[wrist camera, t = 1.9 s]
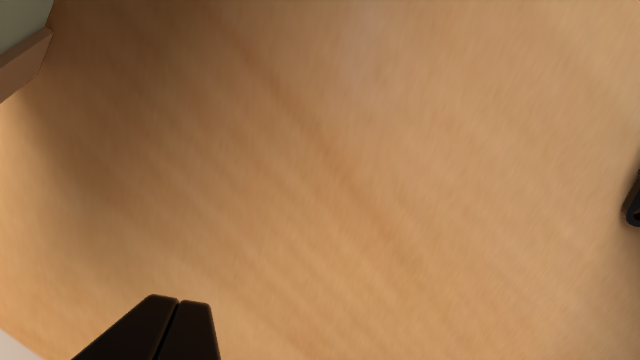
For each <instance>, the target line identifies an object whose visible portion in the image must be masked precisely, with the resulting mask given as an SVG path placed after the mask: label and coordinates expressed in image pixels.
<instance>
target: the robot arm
mask: <svg viewBox="0 0 640 360" xmlns="http://www.w3.org/2000/svg"><path fill="white" fill-rule="evenodd" d="M638 174H639V176H638V177H637V179H636V181H635V183H634V185H633V187H632V189H631V191H630V192H629V194H628V196H627V198H626V200H625V202H624V204H623V206H622V209H621V211H622V215H623V216H624V218H625V219H626V220H627V222H628V223H629V224H630V225H633V226H636V227H640V213H638V214H634V212H635V211H636V210H638V209H640V169H639V171H638ZM71 360H221V357H220V352H219V347H218V342H217V337H216V332H215V327H214V322H213V317H212V312H211V308H210V306H209V305H208V304H206V303H201V302H196V301H190V300H183V301H181V302H180V303H179V300H178V299H177V298H173V297H167V296H162V295H156V294H152V295H149V296H147V297H146V298H145V299H144V300H142V301H141V302H140V303H139V304H138V305H136V306H135V307H134V308H133V309H132V310H130V311H129V312H128V313H127V314H126V315H124V316H123V317H122V318H121V319H119V320H118V321H117V322H116V323H115V324H113V325H112V326H111V327H110V328H109V329H107V330H106V331H105V332H104V333H103V334H101V335H100V336H99V337H98V338H96V339H95V340H94V341H93V342H92V343H90V344H89V345H88V346H87V347H86V348H84V349H83V350H82V351H81V352H80V353H78V354H77V355H76V356H75V357H73V358H72V359H71Z"/></svg>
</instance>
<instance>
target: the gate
mask: <svg viewBox="0 0 640 360" xmlns="http://www.w3.org/2000/svg"><path fill="white" fill-rule="evenodd" d="M53 3H54V0H0V104H1V103H2V102H3V101H4V100H6V99H7V98H8V97H10V96H11V95H12V94H13V93H15V92H16V91H17V90H18V89H20V88H21V87H22V86H24V85H25V84H26V83H27V82H29V81H30V80H31V79H32V78H34V77H35V76H36V75H37V74H38V72H39V69H40V67H41V64H42V61H43V59H44V56H45V54H46V51H47V49H48V46H49V43H50V41H51V38H52V36H53V33H54V32H53V31H51V30H50V29H48V28H46V27H45V24H46V21H47V19H48V16H49V13H50V11H51V8H52V5H53Z"/></svg>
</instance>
